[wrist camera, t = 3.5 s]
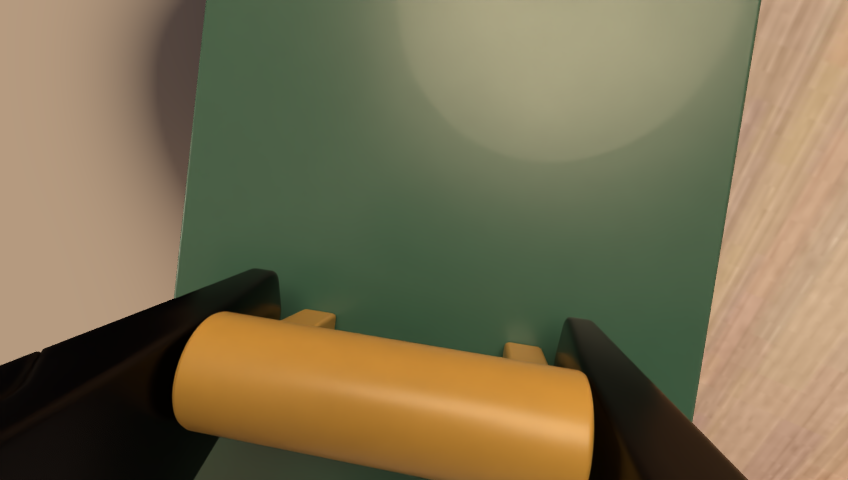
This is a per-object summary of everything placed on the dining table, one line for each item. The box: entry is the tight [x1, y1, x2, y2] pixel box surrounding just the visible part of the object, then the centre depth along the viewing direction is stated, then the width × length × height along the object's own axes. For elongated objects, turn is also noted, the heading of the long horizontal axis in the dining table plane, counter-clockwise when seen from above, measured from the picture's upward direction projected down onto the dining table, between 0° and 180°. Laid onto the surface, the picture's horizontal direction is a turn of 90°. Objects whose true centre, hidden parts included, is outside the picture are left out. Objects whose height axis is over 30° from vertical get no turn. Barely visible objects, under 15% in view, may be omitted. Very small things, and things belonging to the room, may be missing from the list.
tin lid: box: [172, 0, 761, 480], centre depth 8 cm, size 15×10×4 cm
